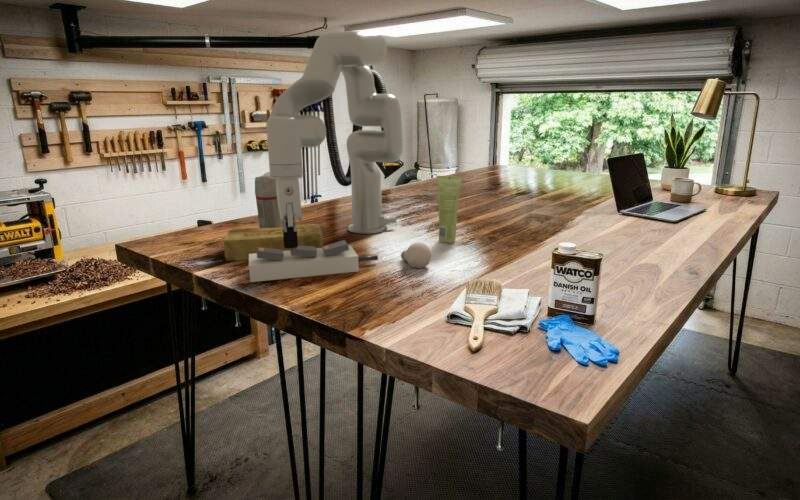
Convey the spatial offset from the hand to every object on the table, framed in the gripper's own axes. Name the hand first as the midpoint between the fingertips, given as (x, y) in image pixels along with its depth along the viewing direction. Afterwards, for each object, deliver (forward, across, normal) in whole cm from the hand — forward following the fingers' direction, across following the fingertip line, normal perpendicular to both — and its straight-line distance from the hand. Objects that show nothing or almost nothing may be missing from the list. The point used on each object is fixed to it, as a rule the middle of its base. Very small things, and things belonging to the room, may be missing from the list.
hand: (290, 246), depth 123 cm
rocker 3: (+2, 0, -11) cm, 11 cm away
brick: (+7, +21, +3) cm, 22 cm away
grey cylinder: (+7, +37, +3) cm, 38 cm away
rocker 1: (+2, 0, +5) cm, 5 cm away
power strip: (+7, +2, -6) cm, 9 cm away
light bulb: (+7, -2, -31) cm, 32 cm away
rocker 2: (+2, 0, -3) cm, 3 cm away
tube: (+6, +16, -47) cm, 50 cm away
